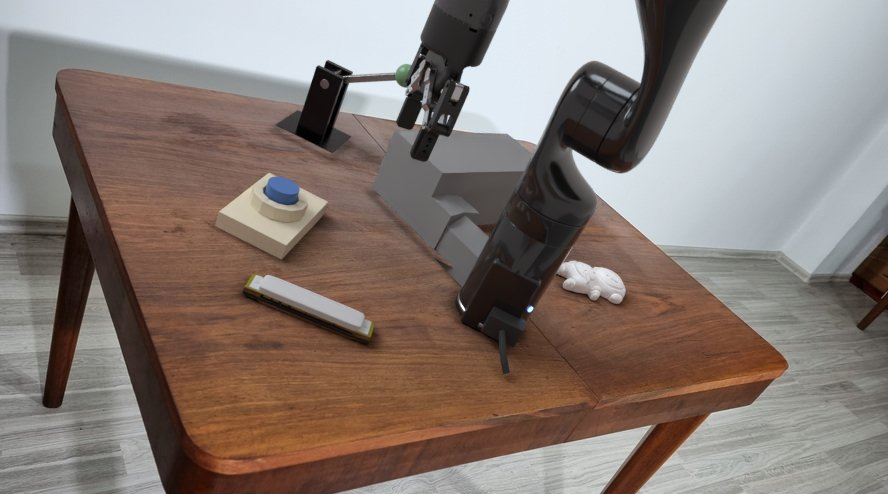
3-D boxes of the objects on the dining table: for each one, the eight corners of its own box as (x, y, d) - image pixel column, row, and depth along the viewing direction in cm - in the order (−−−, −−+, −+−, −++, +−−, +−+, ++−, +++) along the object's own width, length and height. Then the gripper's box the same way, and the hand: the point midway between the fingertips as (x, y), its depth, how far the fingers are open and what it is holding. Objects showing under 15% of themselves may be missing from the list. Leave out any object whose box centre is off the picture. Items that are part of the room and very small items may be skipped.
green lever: (421, 84, 107) (419, 61, 105) (415, 89, 104) (413, 65, 103) (328, 89, 112) (325, 66, 110) (320, 94, 109) (317, 71, 107)
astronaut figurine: (546, 259, 110) (555, 244, 108) (610, 276, 113) (620, 261, 112) (564, 294, 103) (574, 278, 101) (632, 311, 107) (643, 296, 105)
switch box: (281, 260, 84) (290, 232, 82) (214, 226, 85) (222, 198, 83) (323, 215, 96) (332, 190, 94) (264, 186, 96) (272, 160, 94)
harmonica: (241, 296, 76) (245, 281, 75) (250, 281, 79) (254, 267, 78) (366, 347, 77) (372, 333, 76) (371, 330, 80) (377, 317, 79)
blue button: (287, 210, 87) (292, 198, 86) (259, 195, 87) (262, 183, 86) (300, 198, 90) (304, 186, 89) (272, 184, 90) (276, 172, 89)
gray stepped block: (466, 294, 94) (502, 227, 88) (369, 194, 106) (395, 130, 100) (574, 273, 110) (611, 216, 104) (479, 189, 122) (507, 133, 117)
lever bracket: (349, 142, 118) (373, 76, 111) (330, 159, 110) (354, 90, 104) (295, 116, 118) (316, 49, 112) (273, 131, 111) (294, 60, 104)
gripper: (422, -17, 82) (372, 109, 90) (453, 21, 71) (392, 162, 79) (478, 5, 84) (424, 126, 93) (516, 45, 73) (452, 178, 82)
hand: (410, 142), depth 86 cm, fingers open, 8 cm apart
